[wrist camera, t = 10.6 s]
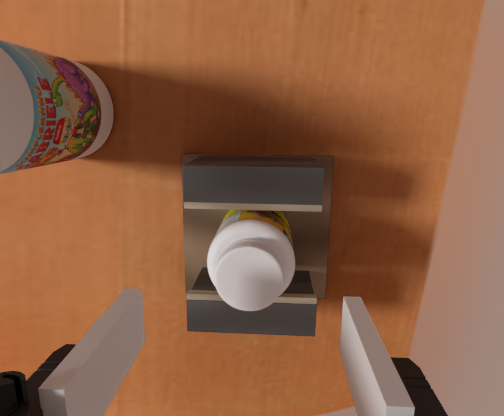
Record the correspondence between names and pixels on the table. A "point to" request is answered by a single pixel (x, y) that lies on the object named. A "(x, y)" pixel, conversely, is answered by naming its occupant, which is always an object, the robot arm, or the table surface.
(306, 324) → the clamp block
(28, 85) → the milk bottle
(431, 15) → the table surface
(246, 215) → the supplement bottle
